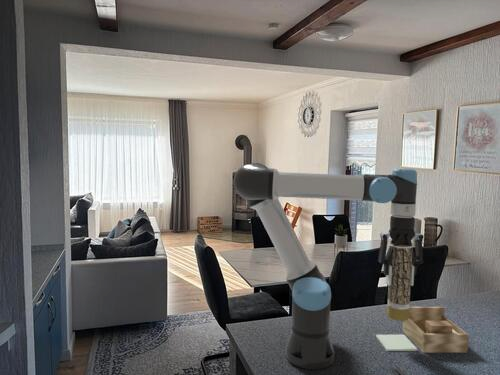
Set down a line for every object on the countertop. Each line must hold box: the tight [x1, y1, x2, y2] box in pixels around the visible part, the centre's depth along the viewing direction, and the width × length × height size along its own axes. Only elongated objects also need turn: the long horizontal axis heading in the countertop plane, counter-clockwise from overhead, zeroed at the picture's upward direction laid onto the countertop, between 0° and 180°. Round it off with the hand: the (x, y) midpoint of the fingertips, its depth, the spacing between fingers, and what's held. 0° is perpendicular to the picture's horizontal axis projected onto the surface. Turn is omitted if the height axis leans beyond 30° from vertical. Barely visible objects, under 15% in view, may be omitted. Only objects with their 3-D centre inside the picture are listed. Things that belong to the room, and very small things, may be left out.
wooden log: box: [386, 242, 413, 322], centre depth 124 cm, size 7×7×25 cm
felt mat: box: [375, 334, 419, 352], centre depth 126 cm, size 10×10×1 cm
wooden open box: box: [402, 306, 470, 354], centre depth 128 cm, size 15×15×9 cm
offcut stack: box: [425, 321, 457, 333], centre depth 123 cm, size 11×4×8 cm, turn 92°
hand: (399, 284), depth 124 cm, fingers closed on wooden log, 7 cm apart
